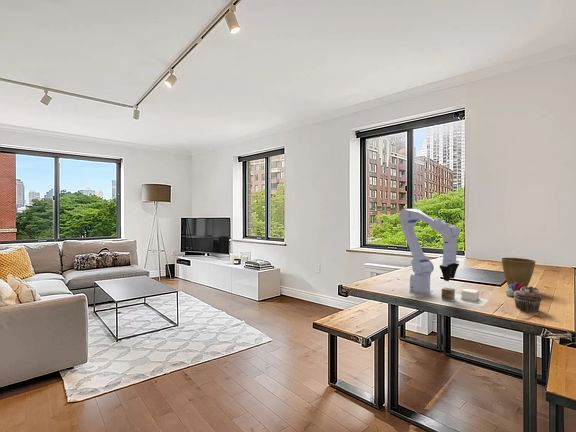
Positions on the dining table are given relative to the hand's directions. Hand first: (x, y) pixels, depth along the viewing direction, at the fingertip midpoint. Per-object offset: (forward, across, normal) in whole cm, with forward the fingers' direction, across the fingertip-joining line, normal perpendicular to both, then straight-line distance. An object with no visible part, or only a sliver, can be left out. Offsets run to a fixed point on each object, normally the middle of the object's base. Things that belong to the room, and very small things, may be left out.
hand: (449, 279), depth 158 cm
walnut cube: (+9, 0, 0) cm, 9 cm away
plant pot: (+10, +46, -21) cm, 51 cm away
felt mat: (+9, +4, -6) cm, 12 cm away
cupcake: (+10, +7, -30) cm, 32 cm away
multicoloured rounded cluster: (+10, +27, -24) cm, 37 cm away
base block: (+9, +6, -8) cm, 13 cm away
